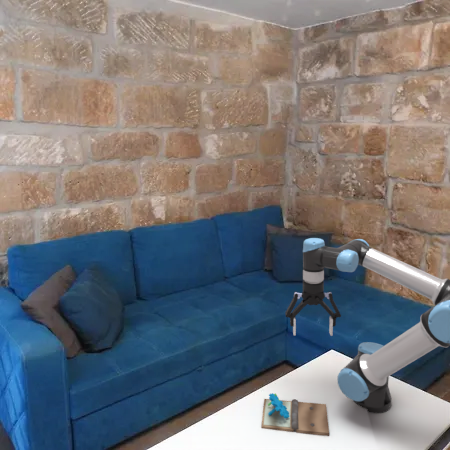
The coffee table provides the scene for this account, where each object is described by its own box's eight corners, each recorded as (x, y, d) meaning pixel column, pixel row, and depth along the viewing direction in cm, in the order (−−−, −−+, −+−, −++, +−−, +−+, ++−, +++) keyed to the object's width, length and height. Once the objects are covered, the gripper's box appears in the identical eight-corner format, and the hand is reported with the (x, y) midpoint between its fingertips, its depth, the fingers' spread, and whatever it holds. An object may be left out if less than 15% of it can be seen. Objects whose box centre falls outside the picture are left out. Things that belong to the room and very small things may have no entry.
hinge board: (325, 406, 163) (326, 401, 162) (329, 436, 148) (329, 430, 147) (264, 401, 166) (264, 396, 165) (261, 429, 151) (261, 423, 150)
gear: (293, 421, 151) (274, 404, 149) (281, 432, 152) (261, 415, 150) (286, 401, 162) (268, 385, 160) (275, 411, 163) (257, 395, 161)
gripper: (345, 276, 162) (344, 329, 166) (278, 277, 164) (278, 329, 168) (350, 283, 155) (348, 338, 159) (279, 284, 156) (279, 338, 161)
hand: (312, 333), depth 164 cm, fingers open, 13 cm apart
